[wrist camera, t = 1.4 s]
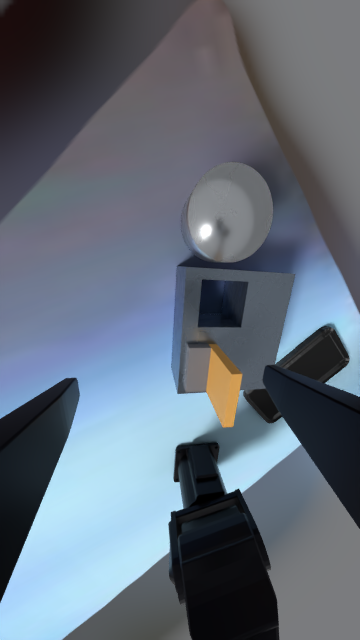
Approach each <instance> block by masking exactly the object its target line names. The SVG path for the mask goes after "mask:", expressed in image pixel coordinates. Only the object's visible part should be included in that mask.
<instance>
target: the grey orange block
mask: <svg viewBox="0 0 360 640" xmlns="http://www.w3.org/2000/svg"><path fill="white" fill-rule="evenodd" d="M241 380H242V373H241V372H240V371H239V369H238V368H237V367H236V366H235V365H234V364H233V362H232V361H231V360H230V359H229V358H228V357H227V355H226V354H225V353H224V352H223V351H222V350H221V349H220V347H219V346H218V345H217V344H187V356H186V369H185V381H184V389H185V392H200V391H206V392H207V394H208V396H209V398H210V401H211V403H212V405H213V407H214V409H215V411H216V413H217V416H218V418H219V420H220V422H221V424H222V426H223V428H225V427H233V425H234V419H235V414H236V408H237V402H238V397H239V391H240V386H241Z"/></svg>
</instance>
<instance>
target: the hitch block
mask: <svg viewBox="0 0 360 640" xmlns="http://www.w3.org/2000/svg"><path fill="white" fill-rule="evenodd" d="M294 278H295V274H289V273H275V272H260V271H245V270H229V269H214V268H199V267H183V266H177V273H176V291H175V309H174V327H173V345H172V363H171V368H172V372H173V377H174V381H175V385H176V390H177V394H184V393H201V392H206V391H200V392H185V389H184V381H185V369H186V356H187V344H217V345H218V346H219V347H220V349H221V350H222V351H223V352H224V353H225V354H226V355H227V357H228V358H229V359H230V360H231V361H232V362H233V364H234V365H235V366H236V367H237V368H238V369H239V371H240V372H241V373H242V380H241V386H240V390H252V389H266V388H265V386H264V384H263V381H262V378H263V373H264V369H265V366H266V365H275V361H276V356H277V352H278V348H279V343H280V339H281V335H282V330H283V326H284V321H285V317H286V313H287V308H288V304H289V300H290V295H291V291H292V287H293V282H294ZM202 279H207V280H225V287H224V295H223V303H222V310H221V314H202V313H199V307H200V296H201V285H202Z"/></svg>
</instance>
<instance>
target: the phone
mask: <svg viewBox="0 0 360 640" xmlns="http://www.w3.org/2000/svg"><path fill="white" fill-rule="evenodd" d="M349 359H350V358H349V356H348V354H347V352H346V350H345V348H344V346H343V344H342V343H341V341H340V339H339V337H338V335H337V333H336V331H335V330H334V329H333V328H330V327H327V326H323V327H321V328H319V329H318V330H317V331H316V332H314V333H313V334H312V335H311V336H310V337H308V338H307V339H306V340H305V341H303V342H302V343H301V344H300V345H298V346H297V347H296V348H295V349H294V350H292V351H291V352H290V353H289V354H287V355H286V356H285V357H284V358H282V359H281V360H280V361H279V362H277V363H276V364H275V365H276V366H279V367H282V368H284V369H287V370H290V371H292V372H295V373H298V374H300V375H303V376H306V377H308V378H311V379H314V380H316V381H319V382H322V383H325V382H327V381H328V380H329V379H330V378H332V377H333V376H334V375H335V374H337V373H338V372H339V371H341V370H342V369H343V368H344V367H346V366H347V364H348V363H349ZM243 395H244V397H245V399H246V400H247V401H248V402H249V404H250V405H251V406H252V407H253V408H254V409H255V410H256V411H257V412H258V413H259V414H260V415H261V417H262V418H263V419H264V420H265V421H266V422H267V423H274V422H276V421H277V420H278V419H280V418H281V417H282V415H281V414H280V412H279V410H278V409H277V407H276V405H275V404H274V402H273V400H272V398H271V397H270V395H269V393H268V391H267V389H252V390H244V392H243Z"/></svg>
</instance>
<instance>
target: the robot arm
mask: <svg viewBox="0 0 360 640" xmlns="http://www.w3.org/2000/svg"><path fill="white" fill-rule="evenodd" d="M262 381H263V384H264V386H265V388H266V389H267V391H268V393H269V395H270V397H271V398H272V400H273V402H274V404H275V405H276V407H277V409H278V410H279V412H280V414H281V415H282V417H283V418H284V419H285V421H286V422H287V424H288V425H289V427H290V428H291V430H292V431H293V433H294V434H295V435H296V437H297V438H298V440H299V441H300V443H301V444H302V446H303V447H304V448H305V450H306V451H307V453H308V454H309V456H310V457H311V459H312V460H313V461H314V463H315V465H316V466H317V467H318V469H319V470H320V472H321V473H322V475H323V476H324V478H325V479H326V481H327V482H328V484H329V485H330V486H331V488H332V489H333V491H334V492H335V494H336V495H337V497H338V498H339V500H340V501H341V502H342V504H343V505H344V507H345V508H346V510H347V511H348V513H349V514H350V516H351V517H352V518H353V520H354V521H355V523H356V524H357V526H358V527H359V529H360V397H358V396H356V395H354V394H351V393H348V392H346V391H343V390H340V389H338V388H335V387H332V386H330V385H327V384H324V383H322V382H319V381H316V380H314V379H311V378H308V377H306V376H303V375H300V374H298V373H295V372H292V371H290V370H287V369H284V368H282V367H279V366H276V365H266V366H265V369H264V373H263V378H262ZM79 397H80V393H79V387H78V380H77V379H76V378H66V379H64V380H62V381H61V382H59V383H57V384H56V385H54V386H53V387H51V388H49V389H48V390H46V391H45V392H43V393H41V394H40V395H38V396H37V397H35V398H33V399H32V400H30V401H28V402H27V403H25V404H24V405H22V406H20V407H19V408H17V409H16V410H14V411H12V412H11V413H9V414H7V415H6V416H4V417H3V418H1V419H0V602H1V600H2V597H3V595H4V593H5V590H6V588H7V585H8V583H9V580H10V578H11V575H12V573H13V570H14V568H15V566H16V563H17V561H18V558H19V556H20V553H21V551H22V548H23V546H24V544H25V541H26V539H27V536H28V534H29V531H30V529H31V526H32V524H33V521H34V519H35V517H36V514H37V512H38V509H39V507H40V504H41V502H42V499H43V497H44V495H45V492H46V490H47V487H48V485H49V482H50V480H51V477H52V475H53V472H54V470H55V468H56V465H57V463H58V460H59V458H60V455H61V453H62V450H63V448H64V446H65V443H66V441H67V438H68V435H69V432H70V429H71V426H72V422H73V419H74V415H75V412H76V408H77V405H78V401H79ZM218 453H219V444H218V443H207V444H198V445H189V446H180V447H177V448H176V450H175V463H174V477H173V478H174V482H180V488H181V495H182V501H183V508H184V509H182V510H179V511H173V512H171V521H170V522H169V536H170V557H169V577H170V580H171V581H172V583H173V584H174V585H175V588H176V592H177V593H178V598H179V602H180V605H184V604H186V610H187V617H188V625H189V631H190V636H191V638H192V640H279V627H278V626H279V623H278V622H279V621H278V609H277V599H276V595H275V592H274V589H273V586H272V584H271V581H270V578H269V575H268V572H267V571H269V570H271V566H270V562H269V558H268V555H267V551H266V548H265V546H264V543H263V540H262V537H261V535H260V532H259V530H258V528H257V525H256V523H255V521H254V519H253V517H252V515H251V513H250V511H249V509H248V506H247V504H246V502H245V500H244V498H243V496H242V494H241V492H240V490H239V489H237V490H235V491H234V492H231V493H228V494H227V492H226V489H225V486H224V483H223V480H222V477H221V474H220V472H219V469H218V466H217V459H218Z"/></svg>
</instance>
